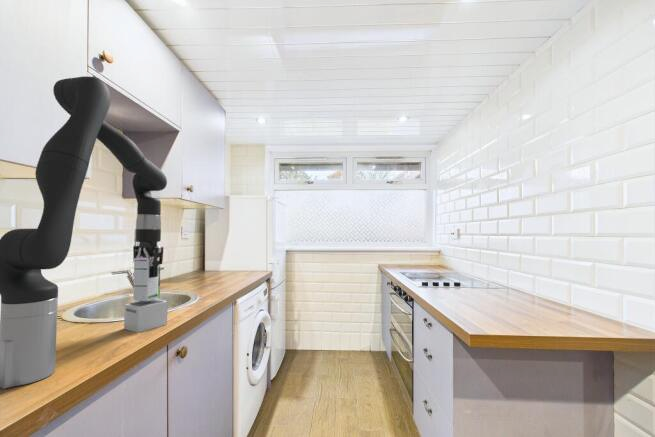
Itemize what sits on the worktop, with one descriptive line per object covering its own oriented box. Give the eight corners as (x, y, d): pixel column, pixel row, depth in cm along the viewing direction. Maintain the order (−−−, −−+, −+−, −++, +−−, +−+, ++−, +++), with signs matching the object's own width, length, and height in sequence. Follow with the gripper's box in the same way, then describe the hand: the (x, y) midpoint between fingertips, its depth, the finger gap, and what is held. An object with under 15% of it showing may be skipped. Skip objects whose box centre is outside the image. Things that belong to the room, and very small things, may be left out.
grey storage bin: (137, 332, 98) (137, 306, 98) (123, 328, 102) (124, 303, 102) (167, 324, 107) (168, 300, 107) (154, 320, 111) (154, 297, 111)
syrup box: (147, 301, 101) (148, 257, 102) (132, 300, 102) (133, 257, 103) (160, 297, 107) (161, 256, 107) (145, 297, 108) (146, 256, 108)
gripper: (125, 228, 106) (124, 276, 105) (150, 227, 99) (148, 279, 98) (147, 228, 112) (145, 273, 112) (171, 228, 105) (170, 276, 105)
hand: (147, 276), depth 105 cm, fingers closed on syrup box, 6 cm apart
